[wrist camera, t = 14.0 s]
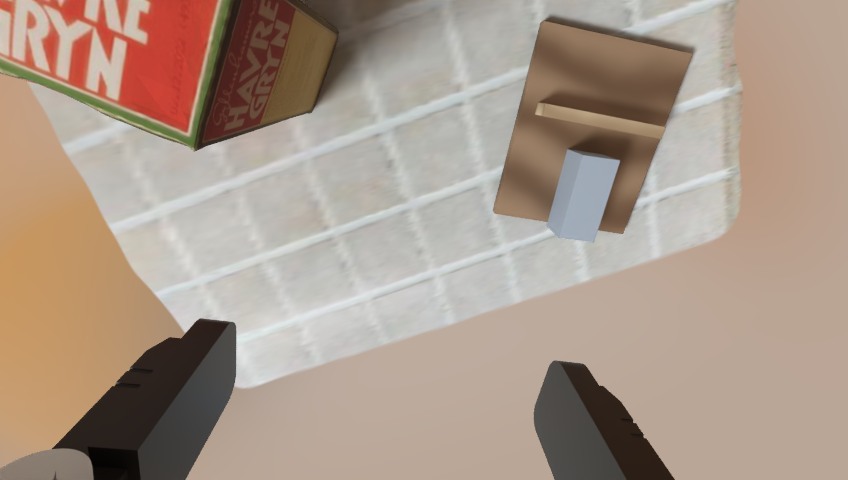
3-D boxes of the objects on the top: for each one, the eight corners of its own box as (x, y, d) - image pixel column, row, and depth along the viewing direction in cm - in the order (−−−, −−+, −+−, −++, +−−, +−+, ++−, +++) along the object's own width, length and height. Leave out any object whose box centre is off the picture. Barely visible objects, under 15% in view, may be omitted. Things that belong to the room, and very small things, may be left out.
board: (540, 22, 40) (553, 16, 36) (684, 54, 41) (710, 51, 38) (492, 210, 47) (500, 220, 43) (617, 230, 48) (634, 241, 45)
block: (582, 155, 40) (558, 239, 43) (620, 160, 40) (593, 243, 43) (567, 149, 43) (546, 226, 46) (601, 154, 44) (578, 230, 47)
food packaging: (182, 60, 39) (-137, 23, 16) (206, -42, 36) (-144, -269, 13) (311, 118, 42) (198, 159, 19) (342, 28, 39) (255, -57, 16)
